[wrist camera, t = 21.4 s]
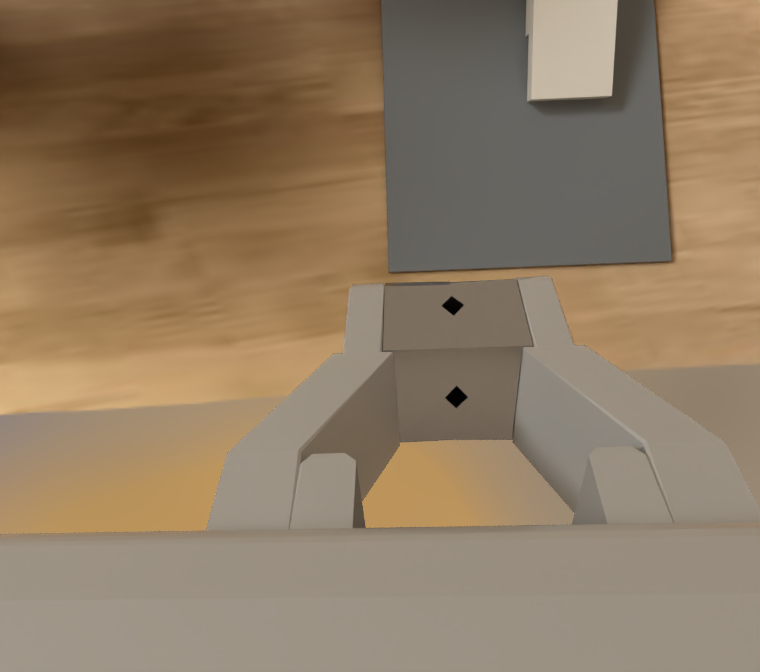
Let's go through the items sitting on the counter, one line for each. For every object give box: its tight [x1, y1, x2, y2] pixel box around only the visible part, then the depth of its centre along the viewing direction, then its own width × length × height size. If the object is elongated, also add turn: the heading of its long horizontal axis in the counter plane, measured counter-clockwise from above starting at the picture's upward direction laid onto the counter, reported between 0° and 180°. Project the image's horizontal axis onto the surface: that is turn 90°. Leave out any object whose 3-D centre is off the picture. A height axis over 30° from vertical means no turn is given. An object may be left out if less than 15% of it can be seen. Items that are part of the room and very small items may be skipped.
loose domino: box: [527, 0, 618, 102], centre depth 38 cm, size 5×2×10 cm
